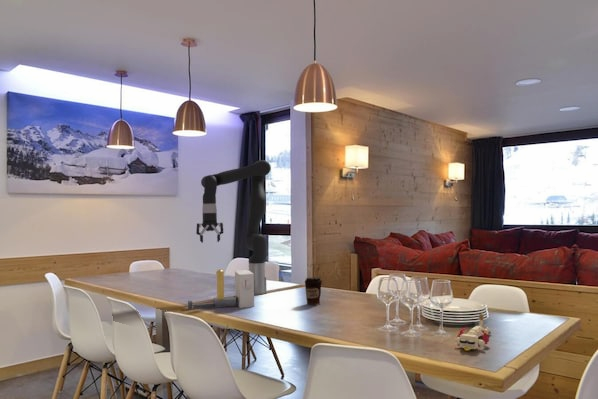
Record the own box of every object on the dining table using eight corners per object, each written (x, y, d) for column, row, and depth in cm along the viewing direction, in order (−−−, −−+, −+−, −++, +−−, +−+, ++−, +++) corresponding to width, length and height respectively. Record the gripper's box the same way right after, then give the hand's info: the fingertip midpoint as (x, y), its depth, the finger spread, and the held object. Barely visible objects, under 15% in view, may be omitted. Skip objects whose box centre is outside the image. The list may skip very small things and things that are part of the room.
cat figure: (468, 336, 173) (450, 348, 152) (468, 312, 173) (450, 321, 152) (497, 339, 167) (482, 352, 146) (496, 314, 168) (482, 324, 147)
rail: (242, 303, 233) (241, 296, 233) (243, 305, 229) (243, 298, 230) (187, 308, 226) (187, 300, 226) (188, 310, 222) (188, 302, 222)
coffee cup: (320, 306, 223) (320, 279, 224) (303, 306, 225) (303, 279, 225) (323, 302, 232) (322, 276, 232) (307, 302, 233) (306, 276, 234)
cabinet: (249, 301, 239) (248, 270, 240) (254, 307, 225) (253, 273, 226) (234, 302, 237) (233, 271, 237) (239, 308, 223) (238, 274, 223)
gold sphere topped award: (233, 303, 234) (233, 267, 234) (235, 305, 227) (235, 269, 227) (213, 304, 231) (212, 269, 231) (215, 307, 224) (214, 270, 224)
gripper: (221, 211, 257) (222, 241, 257) (195, 212, 253) (196, 242, 253) (223, 211, 250) (224, 242, 250) (196, 212, 246) (197, 243, 246)
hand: (210, 242), depth 251 cm, fingers open, 8 cm apart
